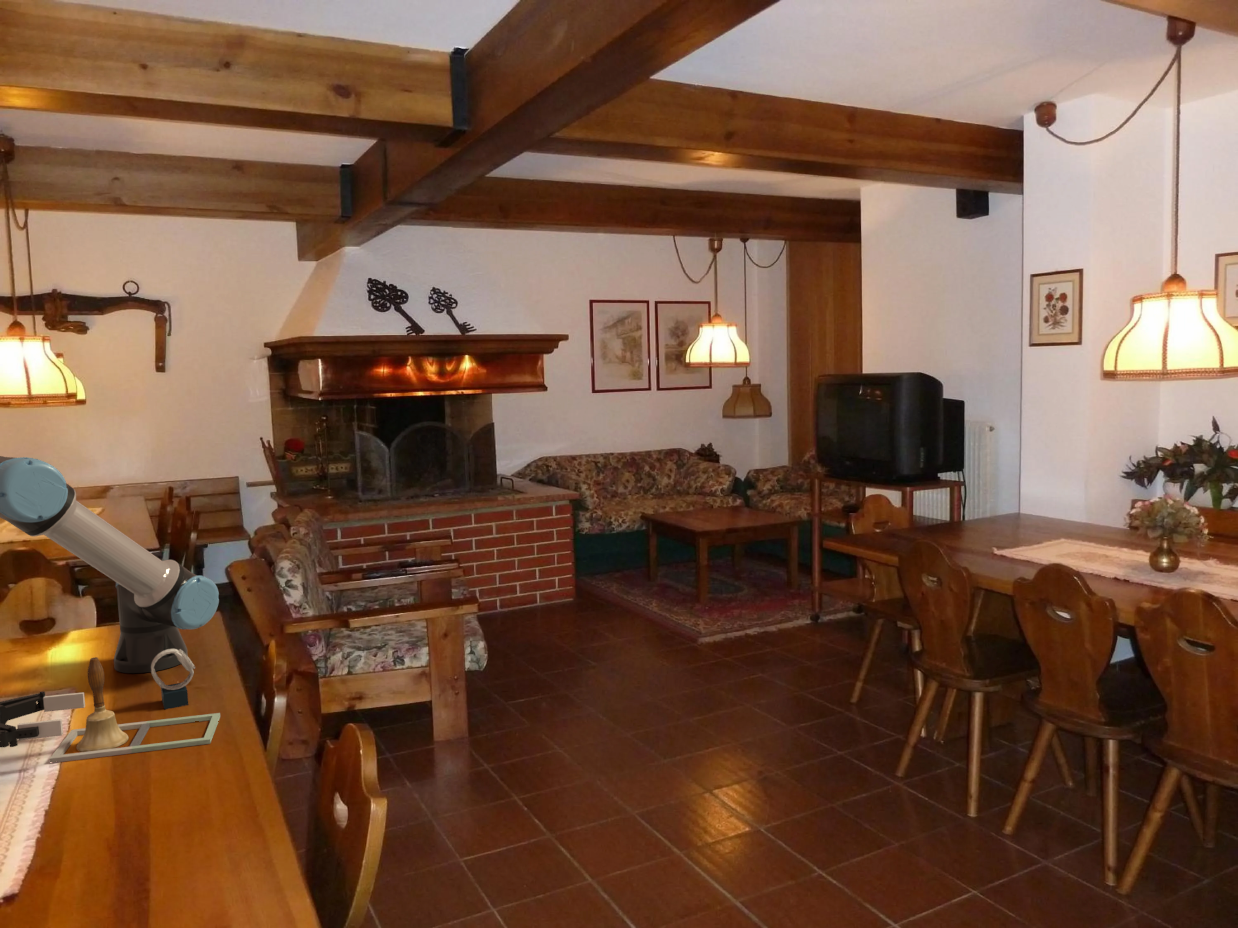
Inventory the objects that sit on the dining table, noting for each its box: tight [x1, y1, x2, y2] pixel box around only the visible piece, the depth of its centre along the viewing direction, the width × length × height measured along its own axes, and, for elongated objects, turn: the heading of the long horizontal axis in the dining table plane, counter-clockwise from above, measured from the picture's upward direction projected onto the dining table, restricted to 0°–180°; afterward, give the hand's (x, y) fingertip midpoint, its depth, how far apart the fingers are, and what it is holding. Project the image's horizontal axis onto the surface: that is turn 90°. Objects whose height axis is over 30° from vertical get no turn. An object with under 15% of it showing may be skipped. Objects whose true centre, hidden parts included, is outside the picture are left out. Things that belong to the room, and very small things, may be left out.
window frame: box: [49, 712, 221, 763], centre depth 170 cm, size 13×26×1 cm, turn 106°
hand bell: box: [75, 657, 129, 753], centre depth 168 cm, size 8×8×16 cm
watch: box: [150, 649, 196, 710], centre depth 188 cm, size 6×8×11 cm
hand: (73, 712), depth 166 cm, fingers open, 13 cm apart
